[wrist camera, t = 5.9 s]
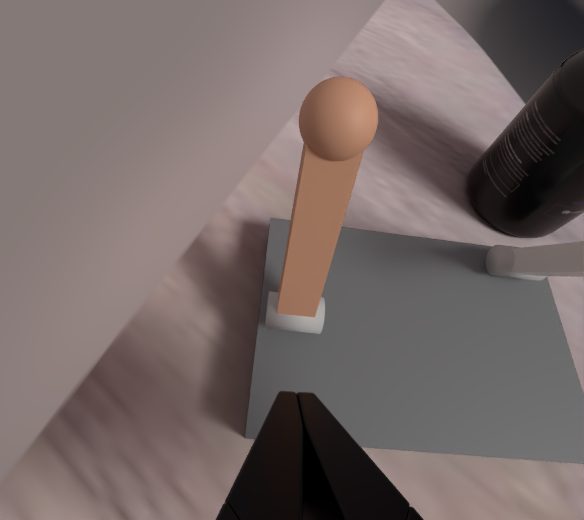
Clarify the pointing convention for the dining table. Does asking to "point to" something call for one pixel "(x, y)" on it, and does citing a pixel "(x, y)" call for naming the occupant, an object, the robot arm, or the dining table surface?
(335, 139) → the terracotta lever
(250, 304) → the dining table surface
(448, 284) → the switch panel
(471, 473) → the dining table surface
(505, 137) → the supplement bottle
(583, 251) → the pale grey lever
